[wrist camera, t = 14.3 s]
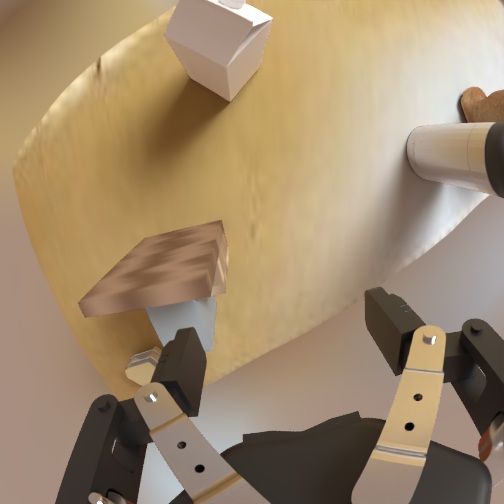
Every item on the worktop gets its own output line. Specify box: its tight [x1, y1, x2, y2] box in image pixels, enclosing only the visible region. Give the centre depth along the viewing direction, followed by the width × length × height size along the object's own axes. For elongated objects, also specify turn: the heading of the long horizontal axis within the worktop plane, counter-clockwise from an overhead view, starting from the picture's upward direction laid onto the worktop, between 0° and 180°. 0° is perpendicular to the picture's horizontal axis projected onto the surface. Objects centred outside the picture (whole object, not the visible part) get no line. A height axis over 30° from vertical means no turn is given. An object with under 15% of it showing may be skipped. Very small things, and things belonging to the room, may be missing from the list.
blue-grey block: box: [145, 296, 217, 352], centre depth 33 cm, size 6×10×10 cm, turn 12°
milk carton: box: [164, 0, 273, 102], centre depth 23 cm, size 7×7×19 cm
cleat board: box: [78, 220, 229, 318], centre depth 30 cm, size 12×5×20 cm, turn 102°
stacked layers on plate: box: [125, 346, 162, 386], centre depth 44 cm, size 10×9×6 cm
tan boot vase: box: [461, 87, 504, 123], centre depth 27 cm, size 15×12×15 cm
